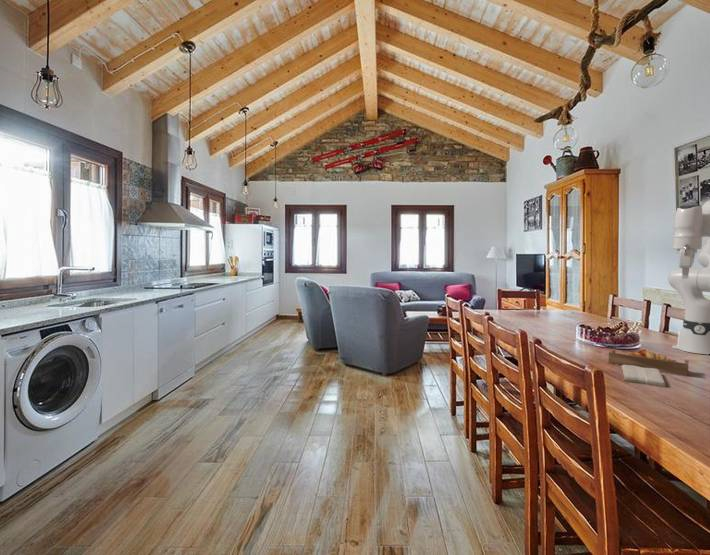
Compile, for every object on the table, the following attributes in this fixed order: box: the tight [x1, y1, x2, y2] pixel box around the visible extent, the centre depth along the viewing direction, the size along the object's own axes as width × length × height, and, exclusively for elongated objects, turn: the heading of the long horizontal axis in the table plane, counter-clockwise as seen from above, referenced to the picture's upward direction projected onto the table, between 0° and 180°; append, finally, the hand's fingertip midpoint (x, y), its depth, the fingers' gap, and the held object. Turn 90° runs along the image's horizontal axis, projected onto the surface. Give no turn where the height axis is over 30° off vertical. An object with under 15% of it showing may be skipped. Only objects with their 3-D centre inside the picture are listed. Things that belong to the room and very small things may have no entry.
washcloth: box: [621, 365, 666, 388], centre depth 139 cm, size 12×18×3 cm, turn 148°
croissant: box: [625, 349, 679, 362], centre depth 154 cm, size 21×10×8 cm, turn 57°
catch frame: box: [608, 348, 690, 377], centre depth 152 cm, size 8×24×4 cm, turn 47°
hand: (685, 278), depth 156 cm, fingers closed
